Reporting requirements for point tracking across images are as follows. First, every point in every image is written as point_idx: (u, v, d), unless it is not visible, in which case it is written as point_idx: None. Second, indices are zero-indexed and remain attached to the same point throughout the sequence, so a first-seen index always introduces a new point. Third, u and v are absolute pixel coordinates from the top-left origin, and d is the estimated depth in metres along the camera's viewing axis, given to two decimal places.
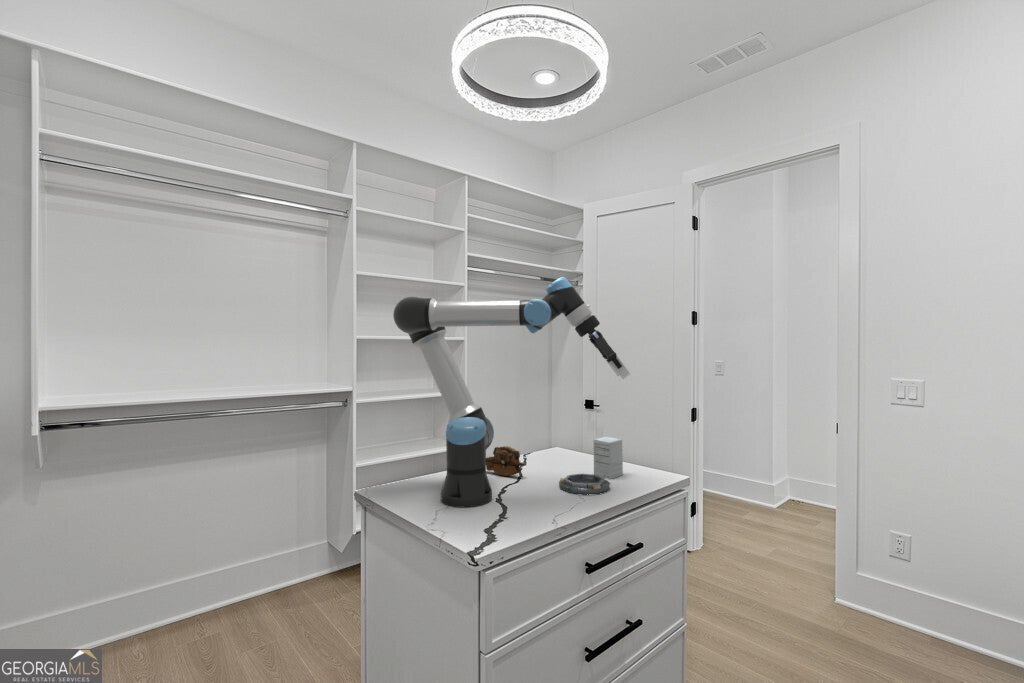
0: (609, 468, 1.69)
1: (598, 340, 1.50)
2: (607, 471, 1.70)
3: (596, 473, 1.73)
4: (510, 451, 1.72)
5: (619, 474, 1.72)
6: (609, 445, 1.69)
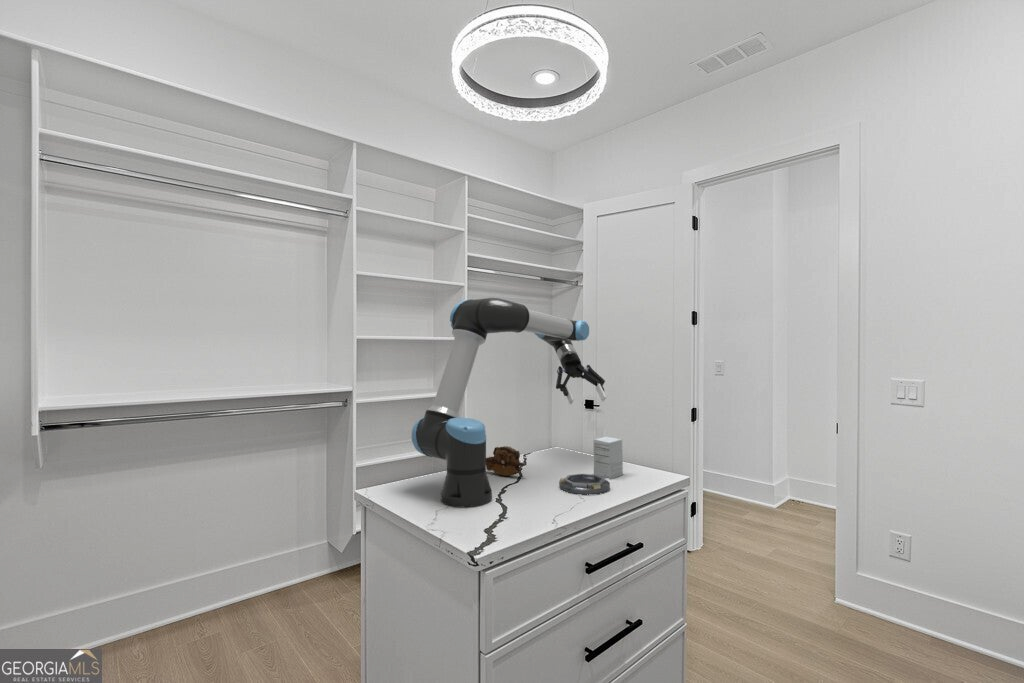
0: (609, 468, 1.69)
1: None
2: (607, 471, 1.70)
3: (596, 473, 1.73)
4: (510, 451, 1.72)
5: (619, 474, 1.72)
6: (609, 445, 1.69)
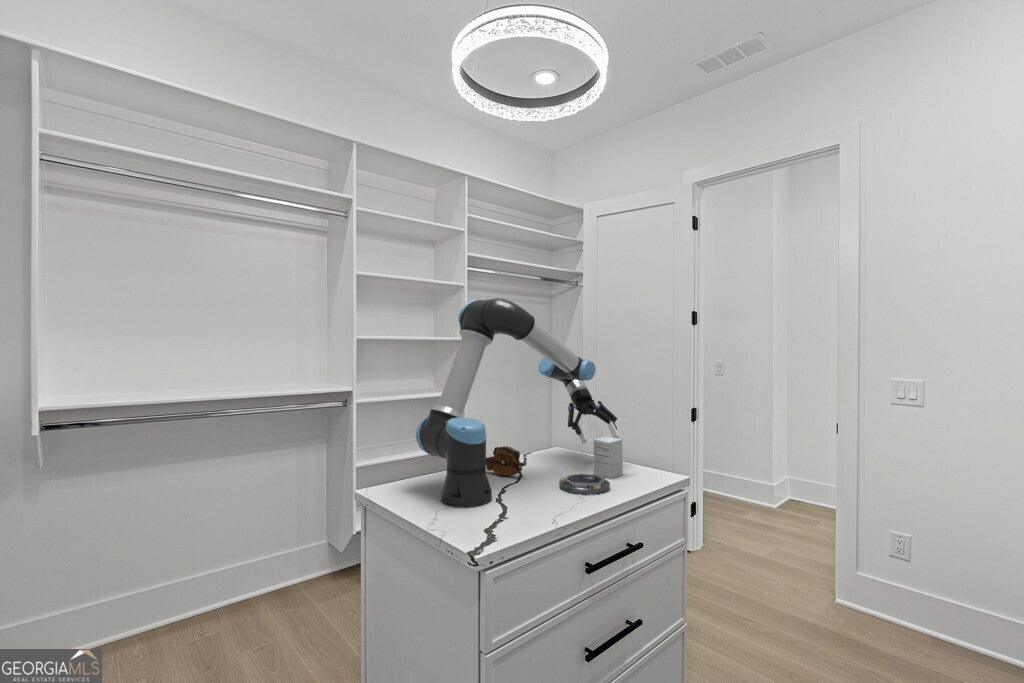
0: (609, 468, 1.69)
1: None
2: (607, 471, 1.70)
3: (596, 473, 1.73)
4: (510, 451, 1.72)
5: (619, 474, 1.72)
6: (609, 445, 1.69)
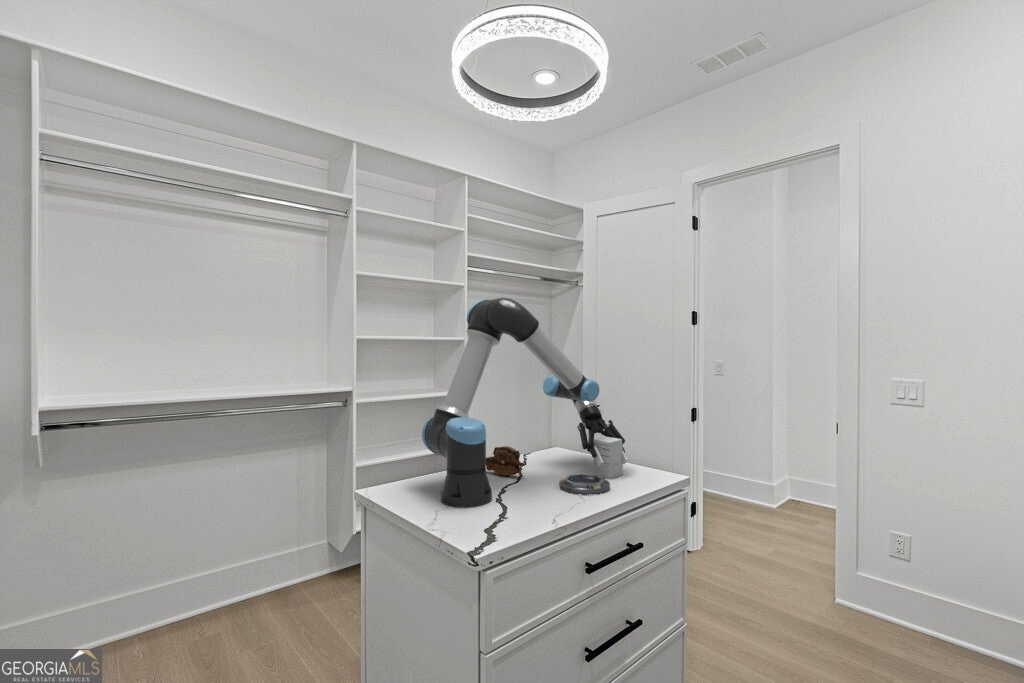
0: (609, 468, 1.69)
1: None
2: (606, 471, 1.70)
3: (596, 473, 1.73)
4: (510, 451, 1.72)
5: (619, 474, 1.72)
6: (608, 445, 1.69)
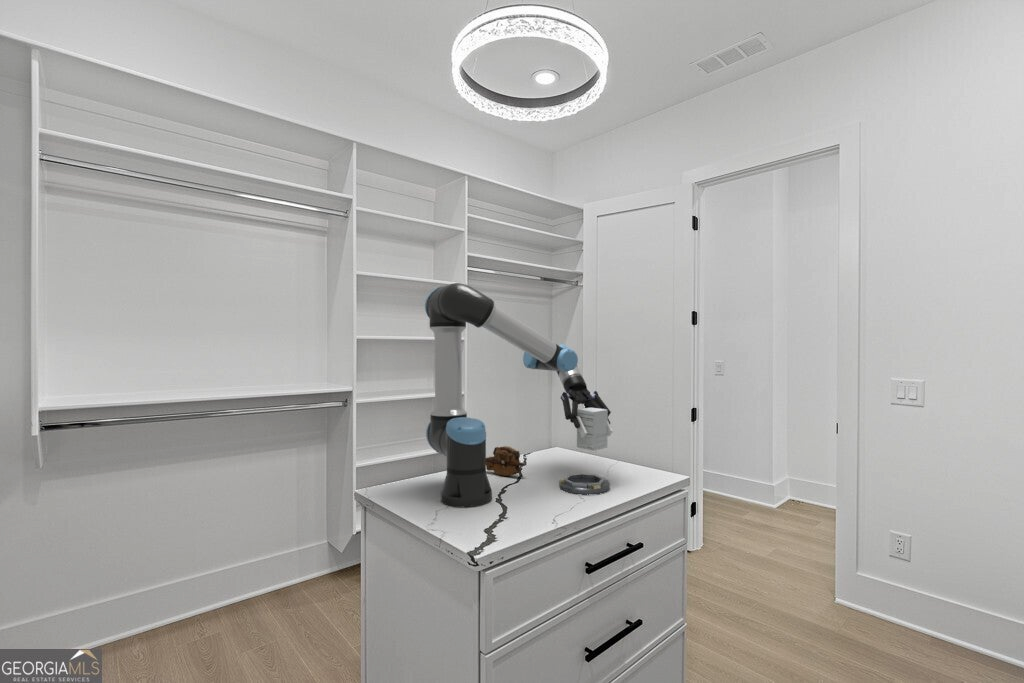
0: (593, 439, 1.59)
1: None
2: (590, 442, 1.59)
3: (579, 445, 1.63)
4: (510, 451, 1.72)
5: (603, 446, 1.62)
6: (593, 415, 1.59)
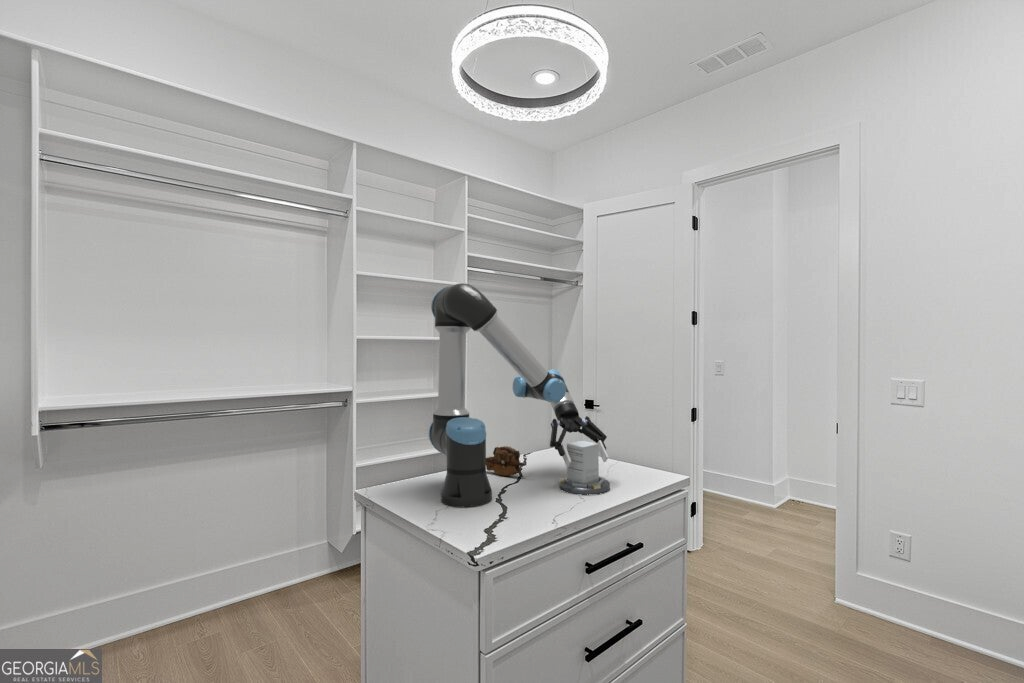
0: (582, 475, 1.55)
1: None
2: (580, 478, 1.55)
3: None
4: (510, 451, 1.72)
5: (594, 481, 1.58)
6: (582, 450, 1.55)
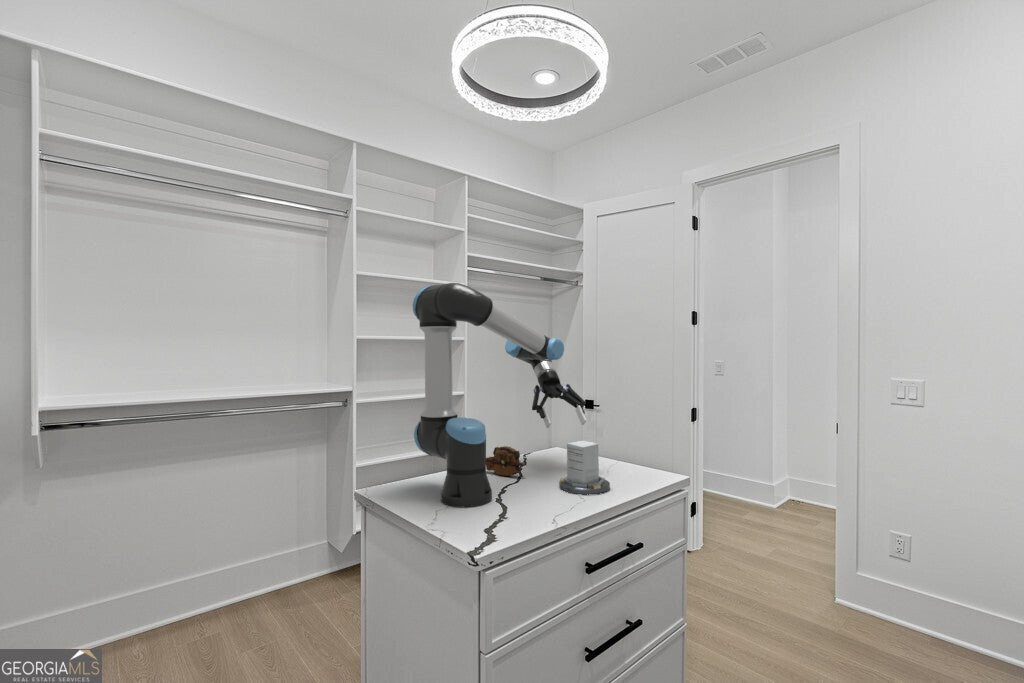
0: (582, 475, 1.55)
1: None
2: (580, 478, 1.55)
3: None
4: (510, 451, 1.72)
5: (594, 481, 1.58)
6: (582, 450, 1.55)
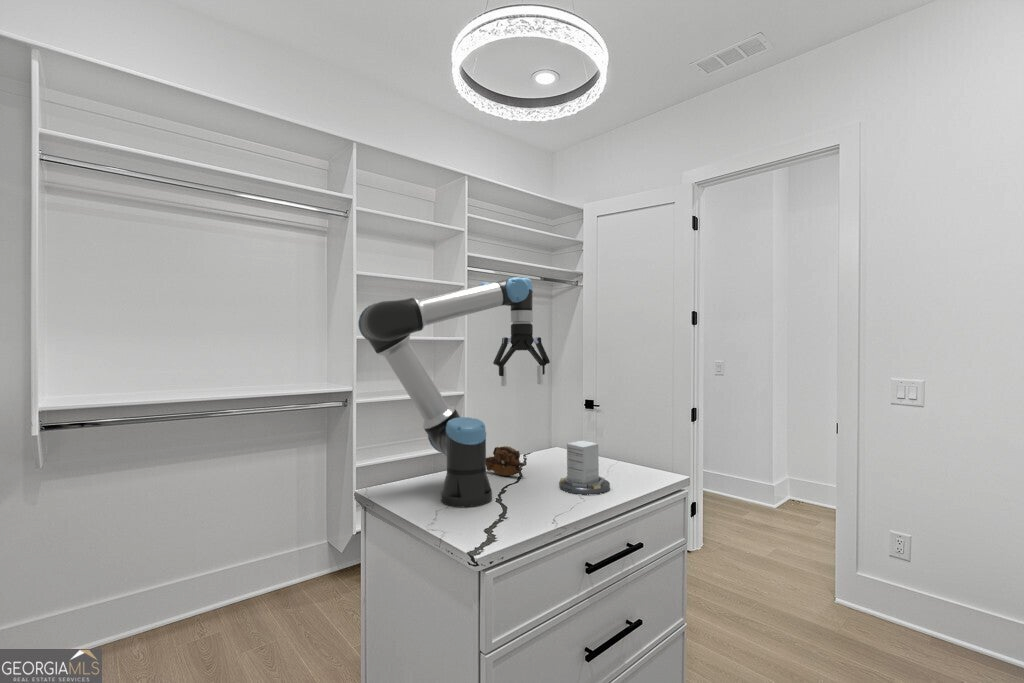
0: (582, 475, 1.55)
1: None
2: (580, 478, 1.55)
3: None
4: (510, 451, 1.72)
5: (594, 481, 1.58)
6: (582, 450, 1.55)
